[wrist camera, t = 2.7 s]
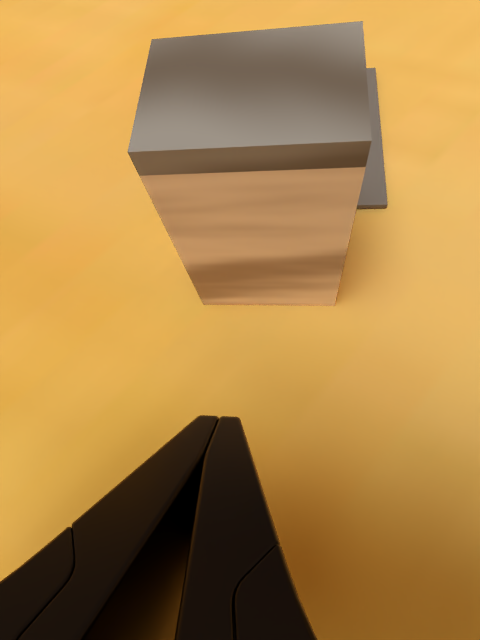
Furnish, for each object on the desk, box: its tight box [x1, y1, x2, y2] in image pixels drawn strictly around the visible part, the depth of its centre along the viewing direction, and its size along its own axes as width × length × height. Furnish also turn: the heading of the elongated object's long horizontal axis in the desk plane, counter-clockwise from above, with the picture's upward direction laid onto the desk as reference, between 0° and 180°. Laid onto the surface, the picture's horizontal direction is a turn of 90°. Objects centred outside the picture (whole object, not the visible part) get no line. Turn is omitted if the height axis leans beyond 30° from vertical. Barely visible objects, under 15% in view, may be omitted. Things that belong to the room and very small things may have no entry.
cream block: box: [128, 21, 372, 306], centre depth 18 cm, size 5×7×11 cm
